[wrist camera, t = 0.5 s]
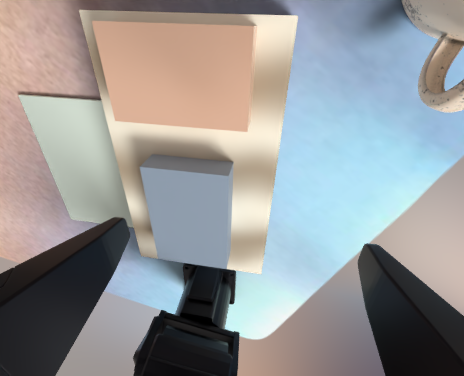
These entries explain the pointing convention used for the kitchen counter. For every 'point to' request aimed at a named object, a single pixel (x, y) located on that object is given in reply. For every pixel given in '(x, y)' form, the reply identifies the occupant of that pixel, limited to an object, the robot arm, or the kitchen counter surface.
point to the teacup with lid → (439, 49)
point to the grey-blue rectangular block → (190, 208)
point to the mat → (79, 155)
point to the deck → (210, 132)
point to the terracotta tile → (179, 73)
